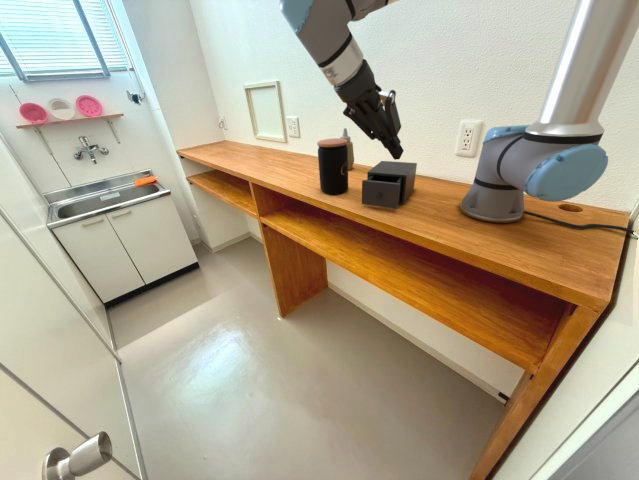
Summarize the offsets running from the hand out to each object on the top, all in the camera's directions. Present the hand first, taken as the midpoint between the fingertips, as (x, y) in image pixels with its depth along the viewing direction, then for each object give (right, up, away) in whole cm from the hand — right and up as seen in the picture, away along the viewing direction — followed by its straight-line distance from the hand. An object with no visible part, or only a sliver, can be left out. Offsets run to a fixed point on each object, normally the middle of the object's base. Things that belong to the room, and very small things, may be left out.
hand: (398, 155), depth 63 cm
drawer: (+2, -8, +21) cm, 22 cm away
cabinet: (+5, -5, +27) cm, 28 cm away
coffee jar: (-14, -2, +34) cm, 37 cm away
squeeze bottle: (-7, +13, +58) cm, 60 cm away
